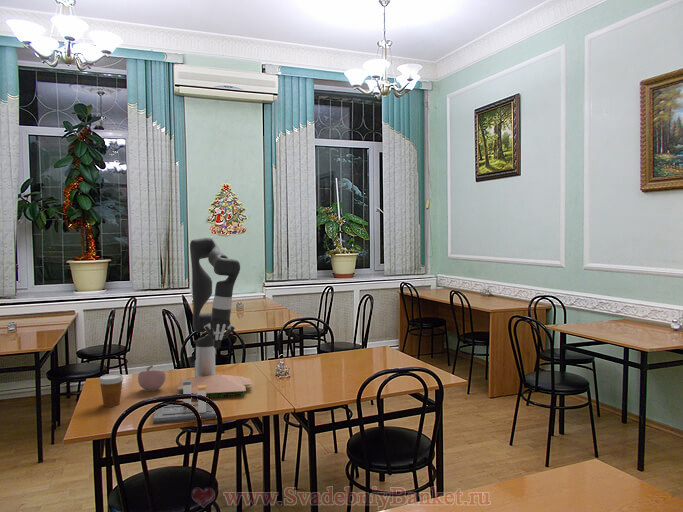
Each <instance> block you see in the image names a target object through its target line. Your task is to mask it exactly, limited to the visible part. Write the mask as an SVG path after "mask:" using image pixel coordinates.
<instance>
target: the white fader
mask: <svg viewBox="0 0 683 512" xmlns="http://www.w3.org/2000/svg"><path fill="white" fill-rule="evenodd" d="M183 380H184V379H183ZM182 394H191V380H184V381H183V389H182ZM191 395H192V394H191ZM182 402H185V403H189V404H191V403H192V398H191V399H183V401H182ZM183 407H184V406H183Z"/></svg>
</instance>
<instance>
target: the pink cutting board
mask: <svg viewBox="0 0 683 512" xmlns="http://www.w3.org/2000/svg"><path fill="white" fill-rule="evenodd" d="M184 380H191V393H193V394H192V395H198V386H200V385H206V396H207V397H208V394H211V397H217V394H219V393H221V394H220V397H221V398H223V394H226V393H229V396H230V395H231V396H232V395H233V396H234V393H242V398H244V396H245V392H246V391H247V387H248V386H250V385H252V378H249V377H246V376H239V375H230V374H229V375H228V374H215V375H210V376H205V377H195V376H193V377H188V378H185V379H180V381H179V383H178V385H177V388H176V390H178V394H180V395H181V392H182V390H183V381H184ZM180 391H181V392H180ZM230 393H231V394H230ZM232 393H233V394H232Z"/></svg>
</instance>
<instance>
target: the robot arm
mask: <svg viewBox="0 0 683 512" xmlns="http://www.w3.org/2000/svg"><path fill="white" fill-rule="evenodd" d="M189 252H190V262H191V275H192V276H191V280H192V281H191V286H192V287H191V288H192V289H191V290H192V328H193V331H194V332H196V333H207V334H206V335H204V336H202V337H200V338H198V339H196V342H195V358H196V359H195V360H194V377H205V376H210V375H216V350H219V349H220V348H221V346H222V340H226V339H227V338H228V337H229V336H230V335H231V334H232V333H233V332H234V331H235V330H236V329H235V327H234V326H233V325H232V324H231V313H232V305H233V293H234V286H235V283H236V281H237V278H238V276H239V274H240V271H241V263H240V262H239V260H238V259H235V258H229V257H228V256H227V255H226V254H225V253H224V252H222V250H221V248H220V247H219V245H218V244H217V243H216V241H215V240H214V239H213V238H211V237H203V238H202V237H201V238H194V239H192V240H190V243H189ZM202 259H207V261H208V263H209V264H210V265H211V266H212V267H213V273H215V274H216V275H218V276H227V278H225V280H219V281H217V282H216V284H215V287H214V288H215V289H214V297H213V299H212V300H213V302H212V305H211V308H212V309H211V312H203V313H201V311H202V310H203V307H204V305H205V304H206V303H207V302H208V301H209V300H210V298H211V297H212V295H213V280H212V278H211V277H210V275H209V274H208V272H207V271H206V270H205V269H204V268H203V267H202V265H201V264H200V261H201V260H202Z"/></svg>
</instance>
